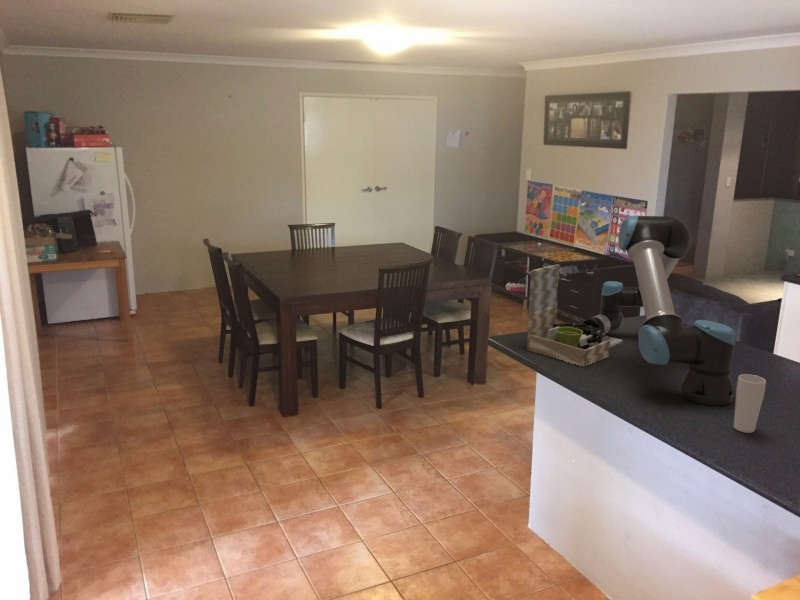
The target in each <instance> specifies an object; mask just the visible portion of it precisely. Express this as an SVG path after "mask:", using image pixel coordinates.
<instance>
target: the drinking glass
mask: <svg viewBox="0 0 800 600" xmlns="http://www.w3.org/2000/svg"><path fill="white" fill-rule="evenodd" d="M766 384H767V381H766V379H765V378H763V377H761V376H759V375H754V374H749V373H747V374H746V373H744V374H743V373H742V374H740V375H738V377H737V382H736V386H735V387H736V388H735V401H734V402H735V404H734V421H733V428H734V429H735V430H736V431H739V432H741V433H744V434H745V433H746V434H752V433H754V432H755V431H756V427H757V424H758V423H757V422H758V419H759V416H760V412H761V408H762V404H763V400H764V397H765V392H766V386H767V385H766Z"/></svg>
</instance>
